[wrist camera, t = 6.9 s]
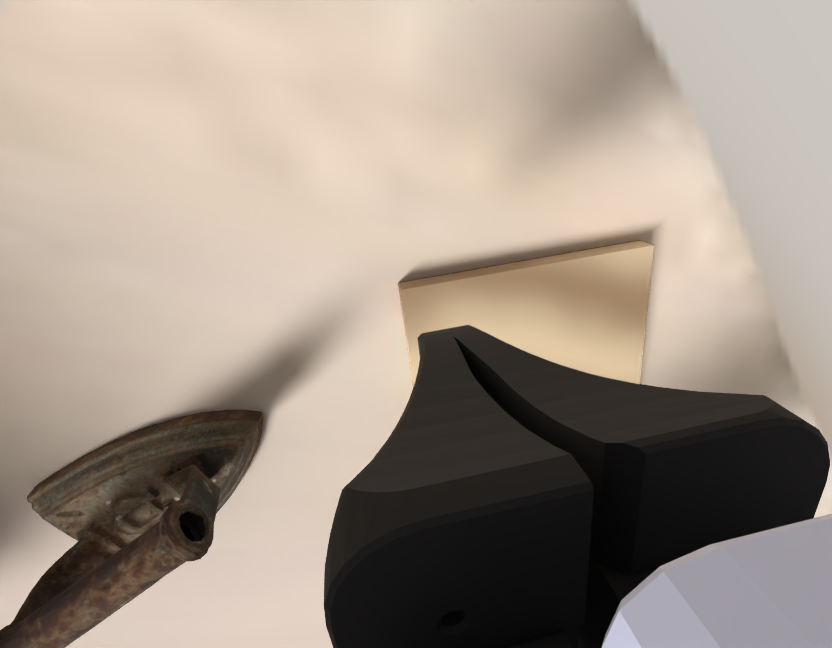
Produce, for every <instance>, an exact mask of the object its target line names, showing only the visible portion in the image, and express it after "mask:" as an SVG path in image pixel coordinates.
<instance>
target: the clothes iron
mask: <svg viewBox="0 0 832 648" xmlns="http://www.w3.org/2000/svg"><path fill="white" fill-rule="evenodd" d="M262 426H263V414H262V413H261V412H255V411H247V410H225V411H212V412H205V413H199V414H194V415H190V416H185V417H180V418H176V419H172V420H169V421H166V422H163V423H160V424H155V425H152V426H149V427H146V428H144V429H141V430H138V431H135V432H133V433H131V434H128V435H126V436H124V437H121V438H119V439H116V440H114V441H112V442H110V443H108V444H106V445H104V446H102V447H100V448H99V449H96V450H94V451H92V452H90V453H88V454H87V455H85V456H83V457H81V458H79V459H78V460H76V461H74V462H73V463H71V464H70V465H68V466H66V467H65V468H63V469H61V470H60V471H58V472H57V473H55V474H53V475H52V476H50V477H49V478H47V479H46V480H45V481H43V482H41V483H40V484H38V485H37V486H36V487H35V488H34V489H33V490H32V491H31V492H30V494H29V495H28V496H27V500H28V502H30V503H32V509H33V510H34V511H36V512H37V513H38V514H39V515H40V516H41V517H42V518H43V519H44V520H46V521H47V522H49V523H50V524H52V525H53V526H55V527H56V528H58V529H60V530H61V531H63V532H64V533H66V534H67V535H69V536H71V537H72V538H74V539H76V540H78V542H77V543H76V544H75V545H74V546H73V547H72V548H70V549H69V550H68V551H67V552H66V553H65V554H64V555H63V556H62V557H61V558H59V559H58V560H57V561H56V562H55V563H54V564H53V565H52V566H51V567H50V568H49V569H48V570H47V571H46V573H45V574H44V575H43V576H42V577H41V578H40V579H39V581H38V582H37V584H36V585H35V586H34V588H33V589H32V590H31V592H30V593H29V595H28V597H27V599H26V600H25V602H24V604H23V605H22V607H21V608H20V610H19V612H18V614H17V615H16V617H15V619H14V620H13V622H12V623H11V624H10V625H8V626H6V627H4V628H3V629H2V630H0V648H65V647H66V646H68V645H69V644H70V643H72V642H73V641H75V640H76V639H77V638H79V637H80V636H82V635H83V634H85V633H86V632H88V631H89V630H90V629H92V628H93V627H95V626H96V625H97V624H99V623H100V622H102V621H103V620H104V619H106V618H107V617H108V616H110V615H111V614H113V613H114V612H115V611H117V610H118V609H120V608H121V607H122V606H124V605H125V604H127V603H128V602H130V601H131V600H132V599H134V598H135V597H137V596H138V595H139V594H141V593H142V592H144V591H145V590H146V589H148V588H149V587H151V586H152V585H153V584H155V583H156V582H157V581H159V580H160V579H161V578H162V577H164V576H165V575H167V574H168V573H170V572H171V571H173V570H174V569H176V568H177V567H179V566H180V565H182V564H183V563H185V562H186V561H195V560H198V559H201V558H202V557H203V556H204V555H205V554H206V553H207V551H208V548H209V547H210V546H211V544H212V540H213V529H214V521H215V516H216V513H217V512H218V511H219V510H220V508H221V507H222V506H223V505H224V504H225V502H226V501H227V500H228V499H229V497H230V496H231V495H232V493H233V492H234V490H235V489H236V487H237V486H238V484H239V483H240V481H241V479H242V477H243V476H244V474H245V472H246V470H247V468H248V466H249V464H250V462H251V460H252V458H253V456H254V453H255V451H256V448H257V446H258V443H259V439H260V437H261V432H262Z"/></svg>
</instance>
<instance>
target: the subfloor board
mask: <svg viewBox="0 0 832 648" xmlns="http://www.w3.org/2000/svg"><path fill="white" fill-rule="evenodd" d="M653 250H654V245H652V244H649V243H646V242H644V241H641V240H640V241H634V242H629V243H623V244H617V245H612V246H606V247H600V248H594V249H589V250H583V251H577V252H572V253H566V254H560V255H554V256H549V257H543V258H537V259H532V260H526V261H520V262H514V263H509V264H503V265H497V266H492V267H486V268H480V269H475V270H469V271H463V272H457V273H452V274H446V275H440V276H435V277H429V278H423V279H417V280H412V281H406V282H400V283H398V287H399V293H400V300H401V307H402V314H403V320H404V327H405V334H406V340H407V347H408V354H409V360H410V367H411V374H412V380H413V387H414V384H415V380H416V377H417V373H418V368H419V361H420V354H419V347H418V339H417V338H418V337H419V336H420V334H421V333H426V332H431V331H437V330H442V329H448V328H453V327H458V326H464V325H470V326H473V327H475V328H477V329H479V330H481V331H484V332H486V333H488V334H490V335H492V336H494V337H496V338H498V339H500V340H502V341H504V342H506V343H508V344H510V345H512V346H515V347H517V348H519V349H521V350H523V351H526V352H528V353H530V354H533V355H535V356H538V357H541V358H543V359H546V360H548V361H551V362H554V363H557V364H560V365H562V366H566V367H569V368H572V369H576V370H579V371H583V372H586V373H589V374H593V375H598V376H602V377H606V378H611V379H616V380H621V381H625V382H630V383H636V384H640V376H641V366H642V357H643V347H644V337H645V328H646V318H647V308H648V299H649V289H650V279H651V270H652V260H653Z"/></svg>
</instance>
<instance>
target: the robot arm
mask: <svg viewBox="0 0 832 648" xmlns="http://www.w3.org/2000/svg"><path fill="white" fill-rule="evenodd" d="M417 339H418V347H419V354H420V361H419V368H418V373H417V377H416V380H415V384H414V387H413V391H412V393H411V396H410V399H409V401H408V404H407V406H406V408H405V410H404V412H403V414H402V416H401V418H400V420H399V422H398V424H397V425H396V427H395V429H394V431H393V432H392V434H391V435H390V437H389V438H388V440H387V441H386V442H385V444H384V445H383V446H382V448H381V449H380V450H379V452H378V453H377V454H376V456H375V457H374V458H373V460H372V461H371V462H370V463H369V464H368V465H367V466H366V467H365V468H364V469H363V470H362V471H361V472H360V473H359V474H358V475H357V476H356V477H355V478H354V479H353V480H352V481H351V482H350V483H349V484H347V485H346V486H345V487H344V489H343V490H342V492H341V496H340V499H339V502H338V506H337V509H336V513H335V517H334V521H333V525H332V529H331V533H330V538H329V544H328V550H327V557H326V563H325V579H324V610H325V619H326V626H327V629H328V633H329V636H330V639H331V642H332V645H333V648H832V514H829V515H825V516H821V517H817V518H814V515H815V512H816V509H817V506H818V504H819V501H820V498H821V495H822V493H823V490H824V487H825V484H826V481H827V476H828V472H829V467H830V459H829V451H828V444H827V442H826V440H825V439H824V437H823V435H822V434H821V432H820V431H819V430H818V429H817V428H815V427H814V426H812V425H811V424H809V423H807V422H806V421H804V420H803V419H801V418H800V417H798V416H796V415H795V414H793V413H792V412H790V411H789V410H787V409H785V408H784V407H782V406H781V405H779V404H778V403H776V402H774V401H773V400H771V399H770V398H768V397H766V396H764V395H747V394H729V393H711V392H696V391H687V390H678V389H670V388H662V387H654V386H648V385H642V384H636V383H630V382H625V381H621V380H616V379H611V378H606V377H602V376H598V375H593V374H589V373H586V372H583V371H579V370H576V369H572V368H569V367H566V366H562V365H560V364H557V363H554V362H551V361H548V360H546V359H543V358H541V357H538V356H535V355H533V354H530V353H528V352H526V351H523V350H521V349H519V348H517V347H515V346H512V345H510V344H508V343H506V342H504V341H502V340H500V339H498V338H496V337H494V336H492V335H490V334H488V333H486V332H484V331H481V330H479V329H477V328H475V327H473V326H470V325H464V326H458V327H453V328H448V329H442V330H437V331H431V332H426V333H421V334H420V336H419V337H418V338H417Z"/></svg>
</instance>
